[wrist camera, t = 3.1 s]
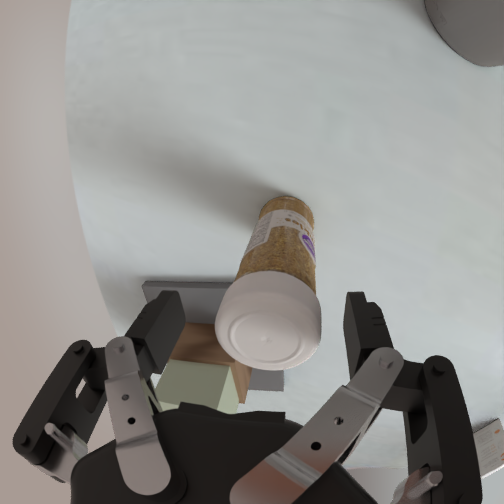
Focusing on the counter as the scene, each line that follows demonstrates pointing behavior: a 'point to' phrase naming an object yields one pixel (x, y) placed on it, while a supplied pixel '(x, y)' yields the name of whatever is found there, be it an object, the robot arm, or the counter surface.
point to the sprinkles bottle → (274, 292)
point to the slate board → (211, 319)
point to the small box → (490, 448)
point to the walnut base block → (210, 354)
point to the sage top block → (197, 386)
